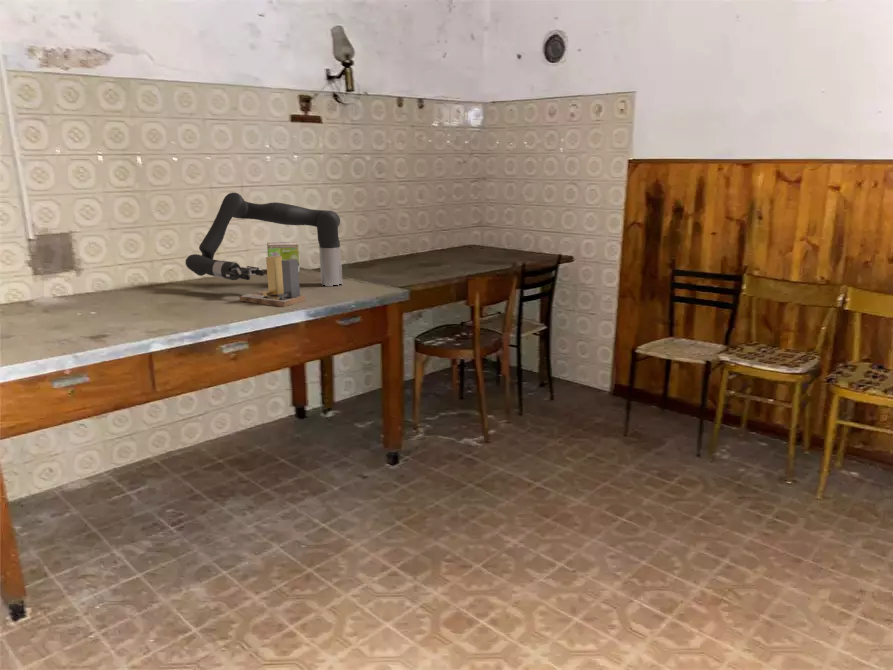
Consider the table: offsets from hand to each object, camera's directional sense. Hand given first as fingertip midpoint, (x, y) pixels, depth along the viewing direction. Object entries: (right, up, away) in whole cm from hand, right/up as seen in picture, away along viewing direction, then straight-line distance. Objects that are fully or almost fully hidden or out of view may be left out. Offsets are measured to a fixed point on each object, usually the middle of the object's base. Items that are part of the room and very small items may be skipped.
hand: (256, 275), depth 281 cm
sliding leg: (+8, -8, -6) cm, 13 cm away
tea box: (-3, +7, +62) cm, 63 cm away
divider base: (+8, -11, -5) cm, 15 cm away
